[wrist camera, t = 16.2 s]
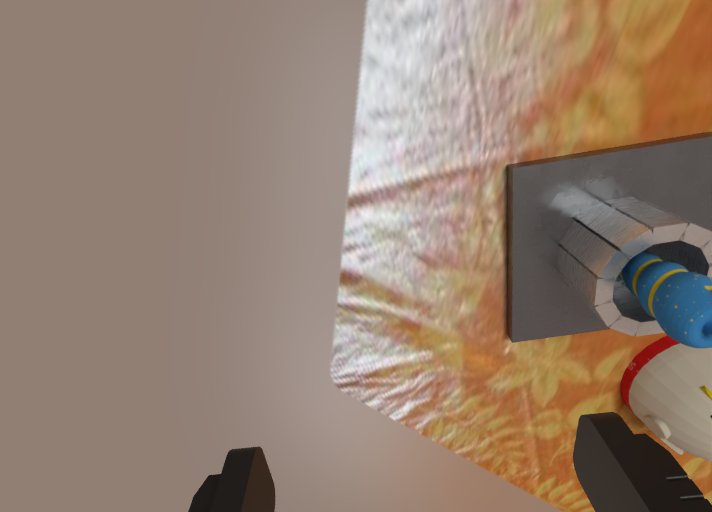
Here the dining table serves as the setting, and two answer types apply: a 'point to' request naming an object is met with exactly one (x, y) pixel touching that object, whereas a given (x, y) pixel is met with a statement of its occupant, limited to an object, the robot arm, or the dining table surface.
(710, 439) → the kitchen timer
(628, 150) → the tube on square plate
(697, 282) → the ornament
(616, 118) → the dining table surface
